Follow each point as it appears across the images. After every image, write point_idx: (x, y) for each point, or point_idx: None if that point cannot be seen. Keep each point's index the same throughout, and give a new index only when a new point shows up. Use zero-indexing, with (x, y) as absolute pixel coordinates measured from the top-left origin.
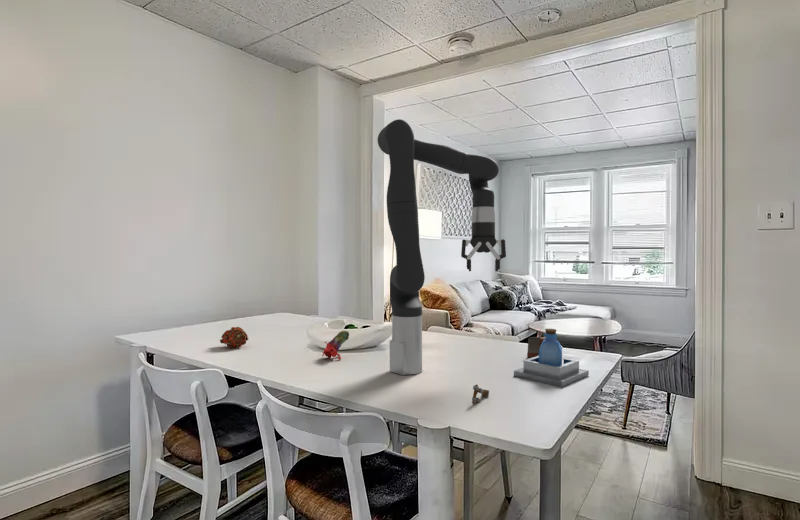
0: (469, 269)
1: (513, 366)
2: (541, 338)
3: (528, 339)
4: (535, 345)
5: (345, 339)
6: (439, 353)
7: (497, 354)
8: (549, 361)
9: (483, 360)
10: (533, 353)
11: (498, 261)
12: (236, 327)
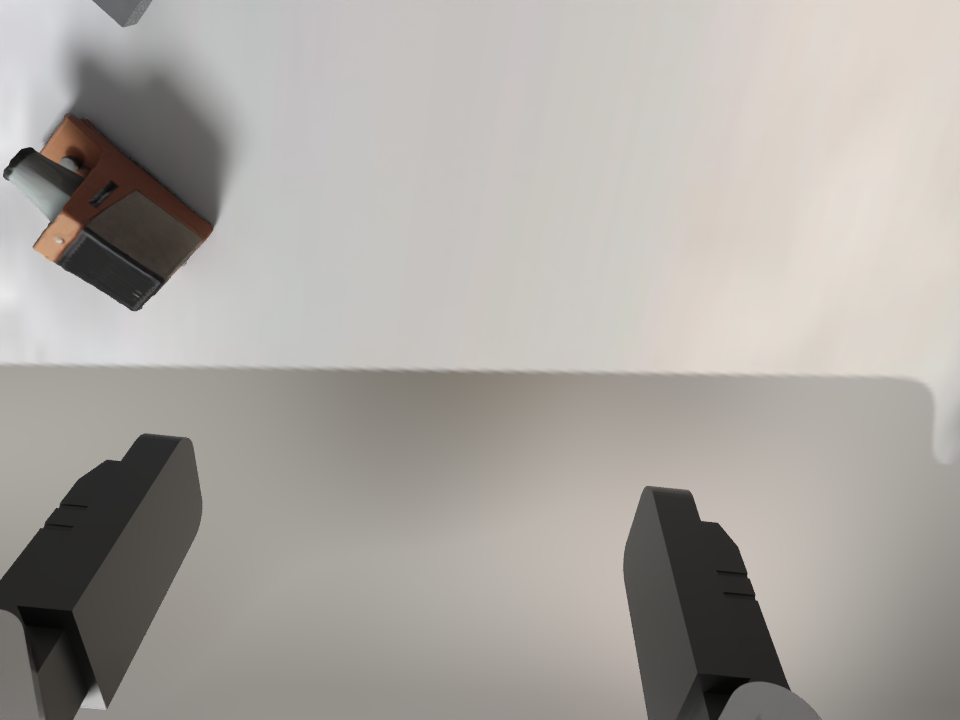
0: (686, 499)
1: (307, 15)
2: (70, 216)
3: (164, 275)
4: (134, 223)
5: None
6: (687, 319)
7: (371, 294)
8: None
9: (468, 163)
10: (168, 209)
11: (27, 591)
12: None
